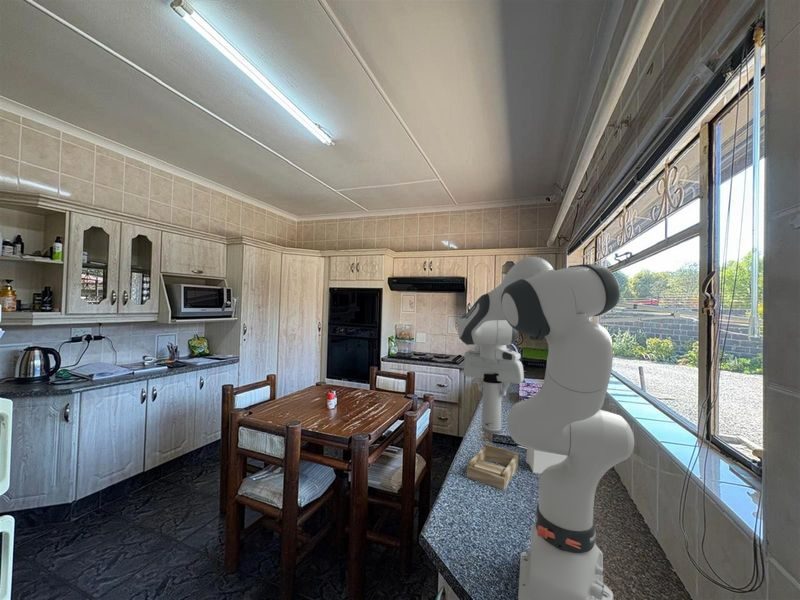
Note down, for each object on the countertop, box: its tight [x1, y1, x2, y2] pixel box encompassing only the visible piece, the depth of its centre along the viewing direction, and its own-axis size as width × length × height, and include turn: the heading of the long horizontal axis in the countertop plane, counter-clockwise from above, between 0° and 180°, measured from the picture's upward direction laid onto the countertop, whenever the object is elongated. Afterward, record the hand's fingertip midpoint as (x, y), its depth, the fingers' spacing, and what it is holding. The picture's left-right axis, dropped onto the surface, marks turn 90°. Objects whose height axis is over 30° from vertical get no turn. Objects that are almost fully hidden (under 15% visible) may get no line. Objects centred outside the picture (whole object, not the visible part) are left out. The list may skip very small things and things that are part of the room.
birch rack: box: [466, 443, 519, 491], centre depth 115 cm, size 18×13×7 cm
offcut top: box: [474, 461, 503, 476], centre depth 111 cm, size 5×9×2 cm, turn 59°
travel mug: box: [481, 373, 503, 435], centre depth 108 cm, size 6×7×20 cm
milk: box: [525, 447, 567, 474], centre depth 120 cm, size 12×12×26 cm
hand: (491, 393), depth 108 cm, fingers closed on travel mug, 6 cm apart
